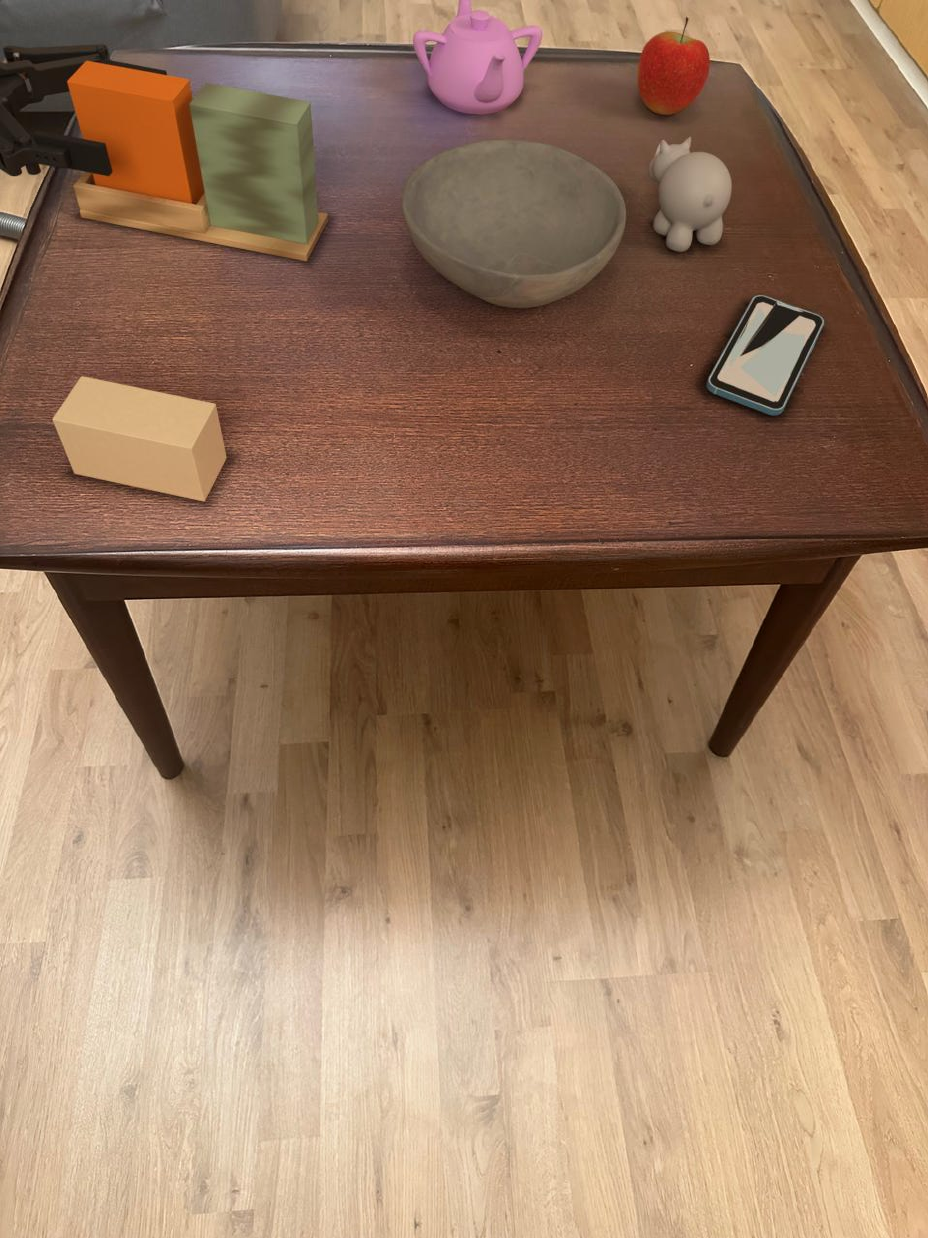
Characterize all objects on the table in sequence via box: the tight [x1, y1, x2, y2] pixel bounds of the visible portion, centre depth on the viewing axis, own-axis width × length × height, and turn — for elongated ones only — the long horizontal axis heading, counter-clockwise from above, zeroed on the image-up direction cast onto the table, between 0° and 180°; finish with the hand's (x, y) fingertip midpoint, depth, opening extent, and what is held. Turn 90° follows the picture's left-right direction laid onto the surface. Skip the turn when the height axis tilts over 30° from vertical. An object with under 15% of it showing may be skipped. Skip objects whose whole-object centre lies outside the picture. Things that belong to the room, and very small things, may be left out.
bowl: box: [400, 139, 627, 309], centre depth 90 cm, size 21×21×8 cm
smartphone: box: [705, 294, 825, 416], centre depth 89 cm, size 7×1×15 cm
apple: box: [636, 16, 711, 116], centre depth 109 cm, size 8×8×10 cm
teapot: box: [412, 0, 543, 115], centre depth 109 cm, size 12×14×9 cm
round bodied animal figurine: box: [647, 136, 733, 253], centre depth 97 cm, size 7×12×8 cm, turn 18°
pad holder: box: [72, 82, 329, 262], centre depth 90 cm, size 24×7×13 cm, turn 77°
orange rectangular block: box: [67, 61, 205, 205], centre depth 90 cm, size 10×4×12 cm, turn 77°
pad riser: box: [52, 375, 227, 502], centre depth 74 cm, size 11×5×6 cm, turn 77°
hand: (139, 121), depth 88 cm, fingers open, 13 cm apart
